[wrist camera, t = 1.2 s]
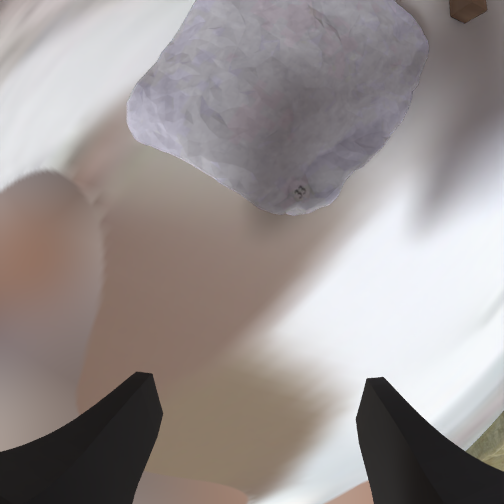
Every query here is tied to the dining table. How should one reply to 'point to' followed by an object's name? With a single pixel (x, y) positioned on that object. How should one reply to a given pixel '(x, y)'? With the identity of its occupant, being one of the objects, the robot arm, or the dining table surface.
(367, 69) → the stone block
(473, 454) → the decorative tile
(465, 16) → the walnut corral
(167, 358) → the dining table surface
